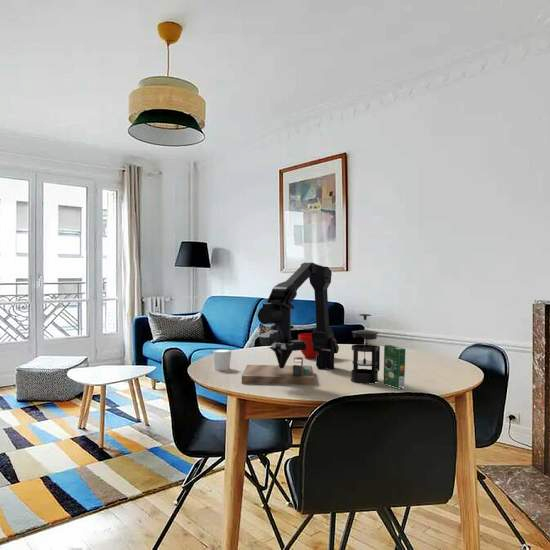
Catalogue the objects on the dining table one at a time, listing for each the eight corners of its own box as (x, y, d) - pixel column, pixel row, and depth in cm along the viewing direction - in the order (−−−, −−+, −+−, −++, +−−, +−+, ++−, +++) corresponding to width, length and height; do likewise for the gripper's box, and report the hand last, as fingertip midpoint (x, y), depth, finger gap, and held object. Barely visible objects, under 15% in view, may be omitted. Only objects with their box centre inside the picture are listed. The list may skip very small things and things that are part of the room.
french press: (362, 385, 154) (363, 315, 155) (343, 380, 162) (344, 313, 162) (387, 381, 161) (388, 314, 161) (368, 376, 169) (368, 312, 169)
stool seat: (311, 372, 174) (311, 360, 174) (314, 385, 154) (314, 371, 154) (247, 371, 175) (247, 359, 175) (241, 383, 155) (241, 369, 155)
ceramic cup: (337, 360, 201) (338, 337, 201) (298, 359, 202) (298, 336, 202) (334, 355, 214) (335, 333, 214) (297, 354, 215) (297, 332, 215)
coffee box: (405, 389, 150) (406, 348, 150) (398, 389, 149) (398, 348, 149) (390, 383, 158) (390, 344, 158) (382, 384, 156) (383, 345, 156)
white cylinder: (216, 371, 175) (216, 352, 175) (210, 368, 181) (210, 349, 181) (233, 369, 178) (234, 351, 178) (227, 366, 184) (227, 348, 184)
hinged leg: (294, 365, 173) (294, 357, 173) (302, 366, 173) (302, 357, 173) (292, 375, 155) (292, 366, 155) (301, 376, 155) (301, 366, 155)
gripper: (247, 321, 163) (246, 366, 163) (281, 325, 148) (280, 375, 148) (272, 320, 170) (271, 363, 170) (307, 324, 155) (306, 371, 155)
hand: (281, 368), depth 160 cm, fingers closed
